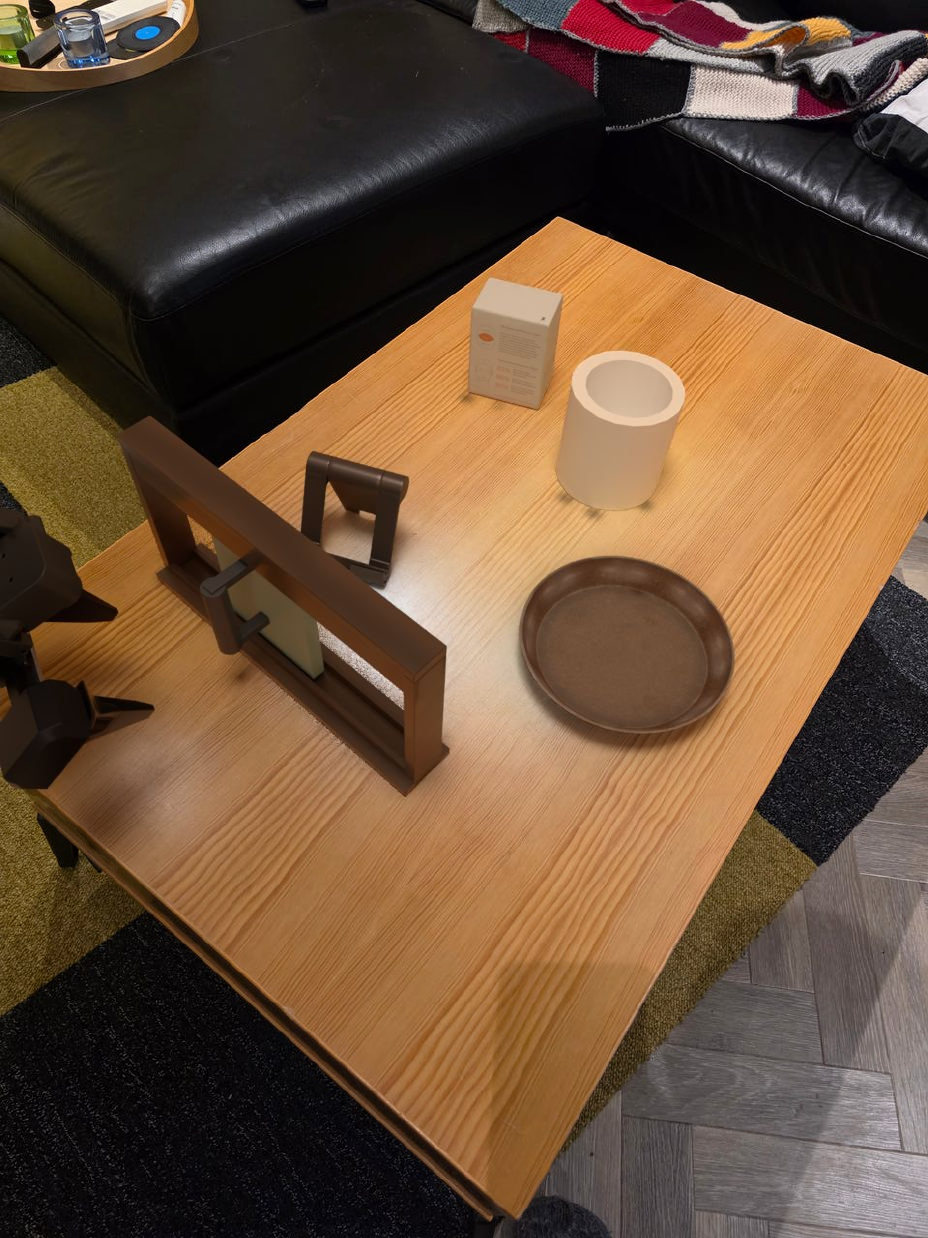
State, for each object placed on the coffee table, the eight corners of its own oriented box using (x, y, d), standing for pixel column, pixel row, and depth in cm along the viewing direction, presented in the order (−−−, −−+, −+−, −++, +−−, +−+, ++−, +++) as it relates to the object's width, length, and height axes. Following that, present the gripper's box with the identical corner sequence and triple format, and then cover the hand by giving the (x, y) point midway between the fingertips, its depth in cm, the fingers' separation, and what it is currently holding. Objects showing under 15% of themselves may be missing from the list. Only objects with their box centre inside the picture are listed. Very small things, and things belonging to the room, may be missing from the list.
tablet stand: (290, 563, 78) (279, 499, 72) (325, 502, 83) (317, 436, 76) (383, 590, 77) (380, 527, 70) (413, 527, 82) (413, 462, 75)
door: (271, 715, 68) (247, 626, 58) (189, 641, 72) (154, 546, 62) (324, 670, 71) (310, 578, 61) (243, 601, 74) (217, 504, 64)
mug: (578, 405, 92) (595, 319, 84) (673, 430, 91) (701, 345, 82) (543, 493, 85) (558, 408, 76) (646, 522, 83) (673, 438, 75)
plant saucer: (616, 544, 81) (623, 522, 79) (767, 670, 74) (779, 650, 72) (472, 643, 74) (474, 622, 72) (624, 794, 67) (632, 776, 64)
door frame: (405, 797, 66) (402, 685, 53) (157, 579, 77) (104, 441, 63) (449, 753, 68) (458, 636, 55) (203, 547, 79) (160, 408, 66)
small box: (552, 379, 95) (566, 293, 86) (538, 411, 92) (550, 326, 83) (482, 360, 96) (488, 274, 87) (465, 392, 93) (470, 306, 84)
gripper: (-10, 660, 43) (240, 690, 56) (-73, 425, 52) (154, 495, 65) (-106, 794, 47) (147, 794, 60) (-149, 553, 56) (78, 597, 69)
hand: (132, 661), depth 63 cm, fingers open, 9 cm apart
